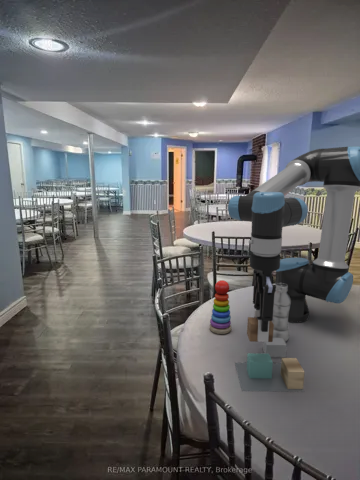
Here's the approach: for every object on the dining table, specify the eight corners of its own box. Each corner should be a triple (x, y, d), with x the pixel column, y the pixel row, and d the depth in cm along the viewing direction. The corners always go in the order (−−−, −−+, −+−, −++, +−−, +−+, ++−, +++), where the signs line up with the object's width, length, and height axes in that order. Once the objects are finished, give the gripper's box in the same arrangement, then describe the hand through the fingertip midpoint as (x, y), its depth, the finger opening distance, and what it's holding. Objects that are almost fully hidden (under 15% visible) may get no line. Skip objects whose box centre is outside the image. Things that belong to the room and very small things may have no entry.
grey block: (281, 352, 95) (282, 338, 94) (285, 359, 91) (286, 345, 90) (262, 352, 95) (263, 337, 94) (265, 359, 91) (266, 344, 90)
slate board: (288, 365, 88) (289, 363, 88) (304, 394, 76) (304, 391, 76) (234, 364, 89) (234, 362, 88) (241, 393, 77) (241, 390, 77)
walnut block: (268, 334, 83) (269, 317, 82) (272, 341, 79) (273, 324, 78) (246, 333, 83) (247, 317, 82) (249, 341, 79) (250, 324, 78)
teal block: (267, 369, 85) (268, 353, 84) (271, 378, 81) (272, 362, 80) (246, 369, 85) (247, 353, 84) (249, 378, 82) (250, 361, 81)
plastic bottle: (278, 347, 97) (282, 290, 93) (264, 338, 103) (267, 283, 99) (292, 342, 100) (297, 286, 96) (277, 333, 106) (281, 280, 102)
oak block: (280, 373, 83) (281, 357, 82) (294, 374, 83) (296, 358, 82) (287, 388, 77) (288, 371, 76) (302, 389, 77) (304, 372, 76)
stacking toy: (231, 336, 105) (232, 285, 101) (208, 333, 106) (209, 284, 102) (231, 325, 112) (233, 278, 108) (210, 323, 114) (211, 276, 110)
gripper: (244, 245, 85) (241, 321, 90) (258, 262, 68) (253, 354, 73) (271, 245, 84) (266, 321, 89) (291, 262, 68) (284, 354, 73)
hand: (260, 336), depth 81 cm, fingers closed on walnut block, 4 cm apart
